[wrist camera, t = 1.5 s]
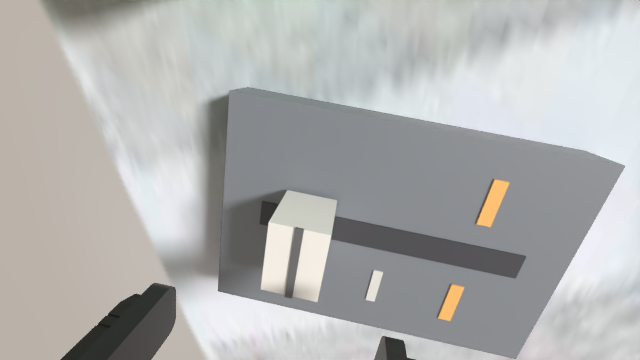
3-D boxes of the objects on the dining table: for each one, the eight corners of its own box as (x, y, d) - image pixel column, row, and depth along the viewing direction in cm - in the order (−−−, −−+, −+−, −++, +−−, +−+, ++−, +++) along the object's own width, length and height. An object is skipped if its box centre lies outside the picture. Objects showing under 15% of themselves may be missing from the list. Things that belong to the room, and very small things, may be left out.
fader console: (248, 87, 19) (228, 90, 17) (584, 150, 18) (626, 166, 15) (234, 265, 24) (217, 292, 22) (497, 324, 23) (516, 360, 20)
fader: (287, 189, 18) (268, 222, 14) (337, 199, 18) (331, 235, 14) (279, 247, 19) (259, 291, 16) (325, 257, 19) (317, 304, 15)
